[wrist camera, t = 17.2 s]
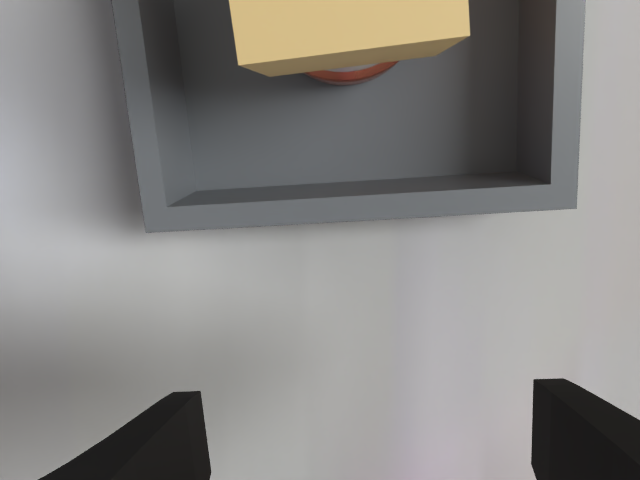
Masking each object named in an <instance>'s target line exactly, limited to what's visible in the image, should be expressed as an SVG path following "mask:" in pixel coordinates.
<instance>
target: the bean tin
mask: <svg viewBox="0 0 640 480" xmlns="http://www.w3.org/2000/svg"><path fill="white" fill-rule="evenodd" d="M398 62H399V61H392V62H384V63H376V64H368V65H360V66H352V67H344V68H336V69H328V70H320V71H313V72H305V73H304V74H306V75H307V76H309V77H311V78H313V79H315V80H317V81H320V82H323V83H327V84H332V85H356V84H361V83H364V82H368V81H370V80H373V79H375V78H377V77H379V76H381V75H382V74H384V73H386V72H387V71H388V70H390V69H391V68H392V67H394V66H395V65H396V64H397V63H398Z"/></svg>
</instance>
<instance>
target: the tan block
mask: <svg viewBox="0 0 640 480" xmlns="http://www.w3.org/2000/svg"><path fill="white" fill-rule="evenodd" d="M229 5H230V11H231V18H232V25H233V32H234V39H235V46H236V53H237V60H238V65H239V66H241V67H244V68H247V69H250V70H252V71H255V72H258V73H260V74H263V75H266V76H269V77H273V76H281V75H289V74H297V73H305V72H313V71H320V70H328V69H336V68H344V67H352V66H360V65H368V64H376V63H384V62H392V61H400V60H408V59H416V58H424V57H431V56H436V55H438V54H440V53H441V52H443V51H445V50H446V49H448V48H450V47H452V46H453V45H455V44H457V43H458V42H460V41H462V40H463V39H465V38H467V37H469V36H470V23H469V3H468V0H229Z"/></svg>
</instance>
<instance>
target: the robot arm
mask: <svg viewBox="0 0 640 480" xmlns="http://www.w3.org/2000/svg"><path fill="white" fill-rule="evenodd" d="M531 465H532V467H533V470H534V473H535V476H536V479H537V480H640V420H638V419H637V418H635V417H633V416H631V415H629V414H628V413H626V412H624V411H622V410H621V409H619V408H617V407H615V406H614V405H612V404H610V403H608V402H607V401H605V400H603V399H601V398H600V397H598V396H596V395H594V394H593V393H591V392H589V391H587V390H585V389H584V388H582V387H580V386H578V385H576V384H574V383H572V382H570V381H568V380H566V379H534V384H533V422H532V460H531ZM210 475H211V467H210V459H209V452H208V444H207V437H206V429H205V422H204V414H203V407H202V399H201V392H200V391H191V392H173V393H171V394H169V395H168V396H166V397H164V398H163V399H161V400H160V401H158V402H157V403H155V404H154V405H152V406H151V407H150V408H148V409H147V410H145V411H144V412H142V413H141V414H140V415H138V416H137V417H135V418H134V419H133V420H131V421H130V422H128V423H127V424H125V425H124V426H123V427H121V428H120V429H118V430H117V431H115V432H114V433H113V434H111V435H110V436H108V437H107V438H105V439H104V440H102V441H101V442H99V443H98V444H96V445H94V446H93V447H91V448H90V449H88V450H87V451H85V452H84V453H82V454H80V455H79V456H77V457H76V458H74V459H73V460H71V461H70V462H68V463H66V464H65V465H63V466H61V467H60V468H58V469H56V470H54V471H53V472H51V473H49V474H47V475H46V476H44V477H42V478H40V479H38V480H209V479H210Z"/></svg>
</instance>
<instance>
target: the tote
mask: <svg viewBox="0 0 640 480" xmlns="http://www.w3.org/2000/svg"><path fill="white" fill-rule="evenodd" d="M111 1H112V8H113V15H114V21H115V28H116V35H117V42H118V48H119V55H120V62H121V69H122V75H123V82H124V89H125V96H126V102H127V109H128V116H129V123H130V129H131V136H132V143H133V150H134V157H135V163H136V170H137V177H138V184H139V190H140V197H141V204H142V211H143V217H144V224H145V231H146V233H152V232H170V231H187V230H205V229H223V228H241V227H259V226H277V225H294V224H312V223H330V222H348V221H366V220H384V219H401V218H419V217H437V216H455V215H473V214H491V213H509V212H526V211H544V210H562V209H577V189H578V165H579V142H580V119H581V96H582V73H583V50H584V27H585V4H586V0H468V3H469V23H470V36H469V37H467V38H465V39H463V40H462V41H460V42H458V43H457V44H455V45H453V46H452V47H450V48H448V49H446V50H445V51H443V52H441V53H440V54H438V55H436V56H431V57H424V58H416V59H408V60H400V61H399V62H398V63H397V64H396V65H395V66H394V67H392V68H391V69H390V70H388V71H387V72H386V73H384V74H382V75H381V76H379V77H377V78H375V79H373V80H370V81H368V82H364V83H361V84H356V85H332V84H327V83H323V82H320V81H317V80H315V79H313V78H311V77H309V76H307V75H306V74H304V73H297V74H289V75H281V76H273V77H269V76H266V75H263V74H260V73H258V72H255V71H252V70H250V69H247V68H244V67H241V66H239V65H238V60H237V53H236V46H235V39H234V32H233V25H232V18H231V11H230V5H229V0H111Z"/></svg>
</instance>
